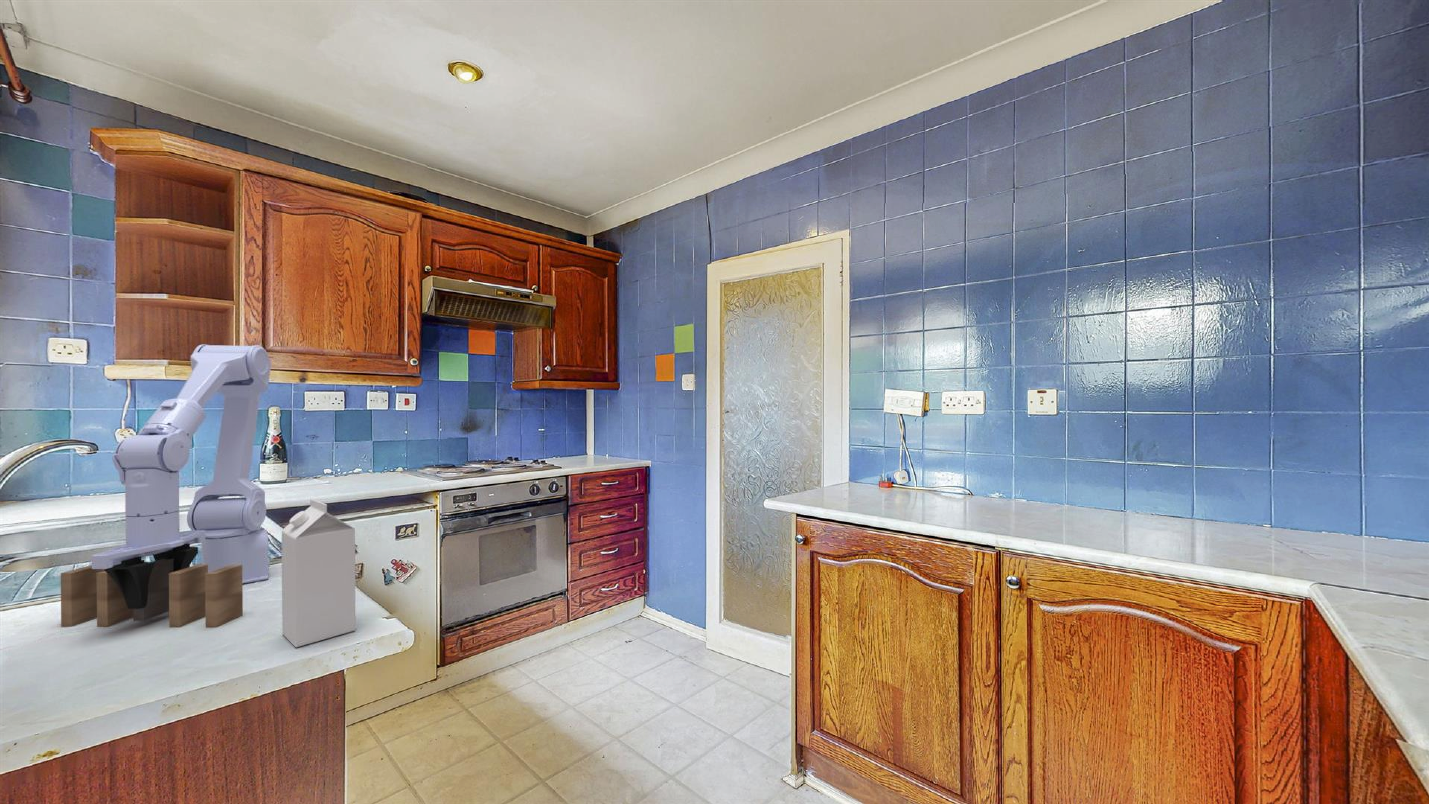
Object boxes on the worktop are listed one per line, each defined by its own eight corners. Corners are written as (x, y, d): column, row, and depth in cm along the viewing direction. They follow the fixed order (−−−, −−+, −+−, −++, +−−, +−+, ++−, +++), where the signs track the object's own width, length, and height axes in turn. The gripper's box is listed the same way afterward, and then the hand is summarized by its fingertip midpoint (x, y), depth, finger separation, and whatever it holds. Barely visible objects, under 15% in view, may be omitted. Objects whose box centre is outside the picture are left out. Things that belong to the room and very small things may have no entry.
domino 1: (95, 614, 85) (95, 564, 85) (105, 615, 85) (104, 564, 85) (61, 626, 81) (60, 573, 81) (71, 626, 81) (71, 573, 81)
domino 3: (198, 615, 85) (197, 564, 85) (208, 615, 85) (207, 564, 85) (169, 627, 80) (168, 573, 80) (179, 627, 80) (179, 573, 80)
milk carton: (339, 619, 83) (338, 495, 83) (356, 631, 79) (355, 500, 79) (281, 634, 78) (280, 502, 78) (295, 649, 73) (294, 508, 73)
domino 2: (129, 615, 85) (129, 564, 85) (139, 615, 85) (139, 564, 85) (97, 626, 81) (96, 573, 81) (107, 626, 81) (107, 573, 81)
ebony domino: (164, 609, 85) (163, 558, 85) (174, 609, 85) (173, 558, 85) (133, 620, 81) (132, 567, 80) (144, 620, 80) (143, 567, 80)
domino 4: (232, 615, 85) (232, 564, 85) (242, 615, 85) (242, 564, 85) (205, 627, 80) (205, 573, 80) (216, 627, 80) (215, 573, 80)
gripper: (125, 524, 75) (126, 621, 75) (222, 503, 90) (223, 585, 90) (76, 523, 75) (77, 621, 75) (181, 503, 90) (182, 585, 90)
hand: (153, 601), depth 83 cm, fingers closed on ebony domino, 4 cm apart
